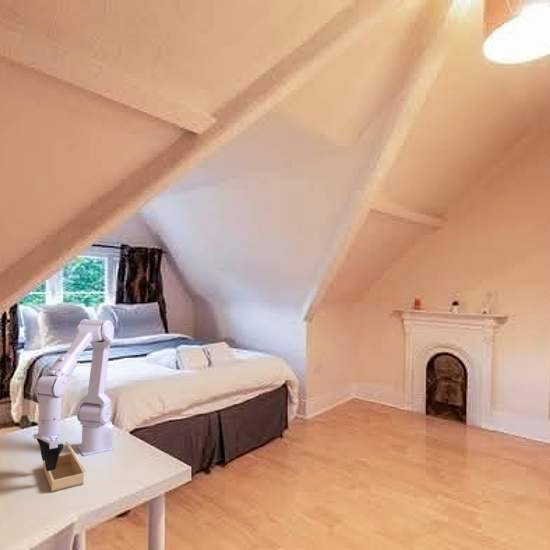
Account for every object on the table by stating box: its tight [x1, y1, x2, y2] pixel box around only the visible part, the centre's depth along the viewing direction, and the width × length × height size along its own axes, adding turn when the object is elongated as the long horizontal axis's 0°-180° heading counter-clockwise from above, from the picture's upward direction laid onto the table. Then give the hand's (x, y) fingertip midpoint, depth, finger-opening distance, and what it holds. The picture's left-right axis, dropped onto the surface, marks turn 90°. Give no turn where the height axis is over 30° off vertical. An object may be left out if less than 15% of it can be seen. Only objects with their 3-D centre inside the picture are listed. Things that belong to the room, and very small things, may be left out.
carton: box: [42, 452, 85, 493], centre depth 123 cm, size 8×16×3 cm, turn 37°
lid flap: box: [65, 441, 86, 473], centre depth 125 cm, size 4×15×1 cm
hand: (48, 464), depth 121 cm, fingers open, 7 cm apart
